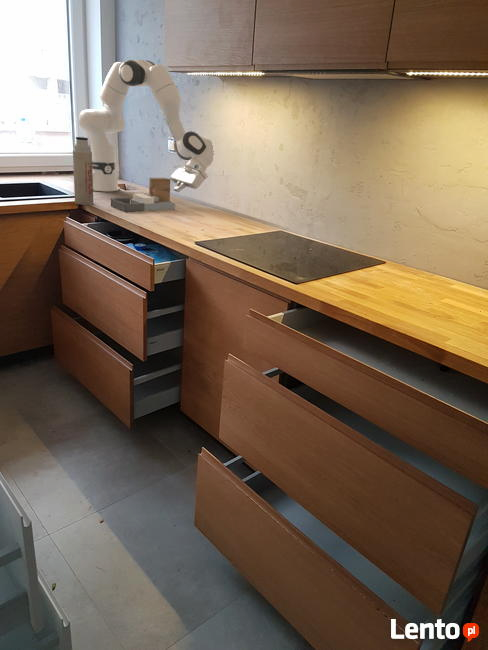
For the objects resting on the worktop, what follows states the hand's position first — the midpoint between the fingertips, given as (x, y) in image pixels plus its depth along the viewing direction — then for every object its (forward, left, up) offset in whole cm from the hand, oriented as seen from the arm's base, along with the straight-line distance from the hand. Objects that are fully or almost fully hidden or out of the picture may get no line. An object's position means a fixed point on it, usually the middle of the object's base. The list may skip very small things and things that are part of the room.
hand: (175, 190), depth 233 cm
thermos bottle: (-16, -38, -8) cm, 42 cm away
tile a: (-3, -17, -4) cm, 18 cm away
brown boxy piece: (0, -9, -4) cm, 10 cm away
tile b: (+3, -17, -4) cm, 18 cm away
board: (0, -12, -7) cm, 14 cm away
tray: (0, -25, -7) cm, 26 cm away
